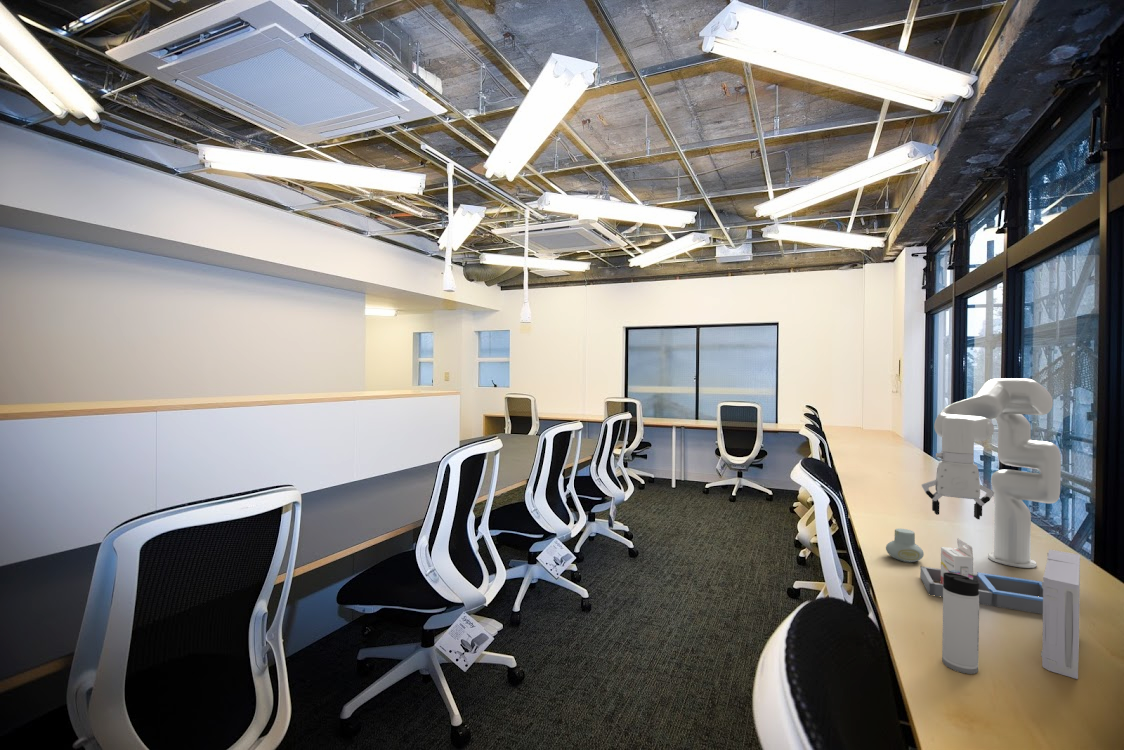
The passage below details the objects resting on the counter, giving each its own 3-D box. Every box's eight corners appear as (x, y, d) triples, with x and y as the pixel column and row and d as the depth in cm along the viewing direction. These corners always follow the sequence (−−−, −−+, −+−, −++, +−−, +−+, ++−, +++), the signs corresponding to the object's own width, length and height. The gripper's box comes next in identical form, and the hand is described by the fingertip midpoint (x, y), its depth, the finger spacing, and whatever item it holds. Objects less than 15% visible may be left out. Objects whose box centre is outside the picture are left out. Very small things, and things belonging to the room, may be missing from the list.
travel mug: (933, 659, 116) (934, 570, 116) (960, 658, 116) (961, 569, 116) (957, 675, 109) (958, 581, 109) (986, 674, 110) (987, 580, 110)
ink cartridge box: (939, 584, 158) (939, 536, 158) (957, 586, 157) (958, 537, 157) (954, 596, 149) (955, 545, 149) (974, 597, 148) (974, 546, 148)
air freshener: (918, 557, 182) (918, 528, 182) (927, 565, 174) (927, 535, 174) (882, 553, 185) (883, 526, 185) (890, 561, 177) (890, 532, 177)
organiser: (920, 576, 164) (920, 563, 164) (1043, 595, 150) (1043, 581, 150) (929, 595, 150) (929, 581, 150) (1066, 618, 136) (1066, 602, 136)
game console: (1040, 668, 112) (1041, 577, 112) (1046, 627, 131) (1047, 549, 131) (1078, 680, 108) (1079, 585, 108) (1079, 635, 127) (1079, 554, 127)
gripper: (924, 457, 154) (923, 514, 153) (998, 462, 146) (997, 523, 146) (920, 454, 160) (919, 509, 160) (990, 459, 153) (989, 517, 152)
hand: (956, 516), depth 153 cm, fingers open, 9 cm apart
